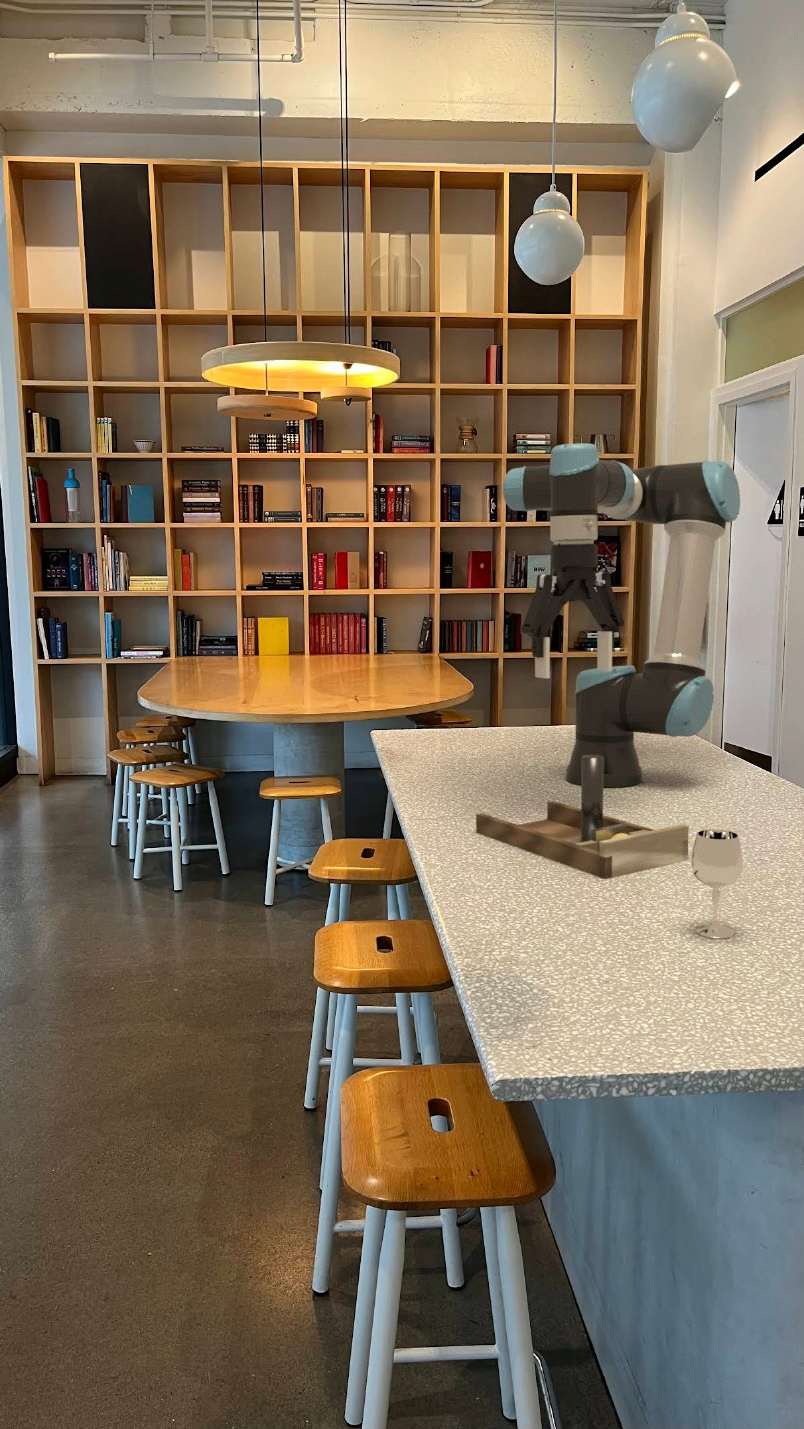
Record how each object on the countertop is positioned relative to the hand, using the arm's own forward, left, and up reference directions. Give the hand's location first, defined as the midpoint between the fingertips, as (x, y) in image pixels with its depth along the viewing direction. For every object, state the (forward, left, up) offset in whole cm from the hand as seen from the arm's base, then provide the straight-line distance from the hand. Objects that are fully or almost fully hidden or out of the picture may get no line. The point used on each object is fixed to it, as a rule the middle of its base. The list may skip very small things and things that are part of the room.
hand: (574, 674), depth 168 cm
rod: (+16, -10, -24) cm, 31 cm away
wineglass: (+47, -19, -26) cm, 57 cm away
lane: (+12, -10, -26) cm, 30 cm away
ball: (+24, -10, -22) cm, 34 cm away
